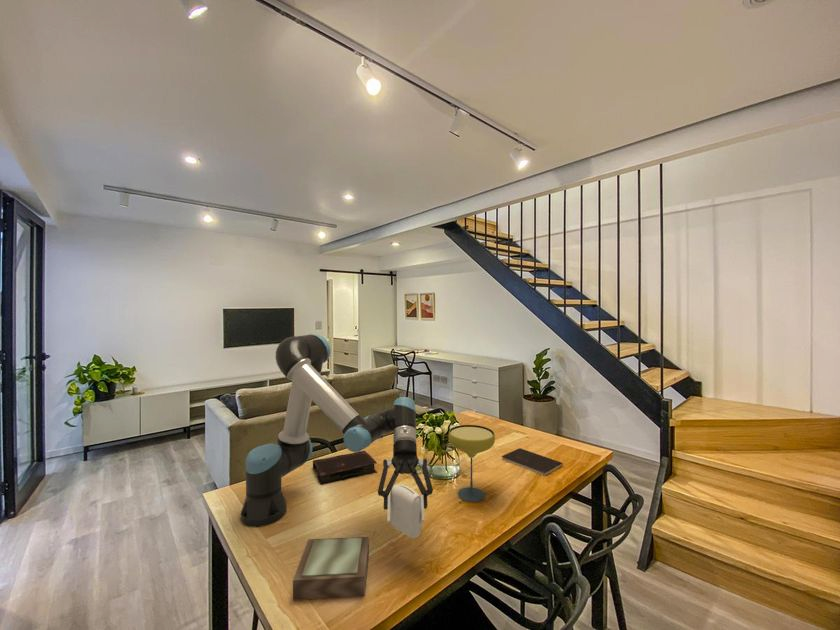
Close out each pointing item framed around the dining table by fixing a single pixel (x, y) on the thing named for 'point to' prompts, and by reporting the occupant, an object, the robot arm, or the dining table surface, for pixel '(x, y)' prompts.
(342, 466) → the diary
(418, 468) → the handheld gaming device
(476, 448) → the cocktail glass
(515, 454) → the hardcover book
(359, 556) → the block
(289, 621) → the dining table surface
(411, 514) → the photo printer
